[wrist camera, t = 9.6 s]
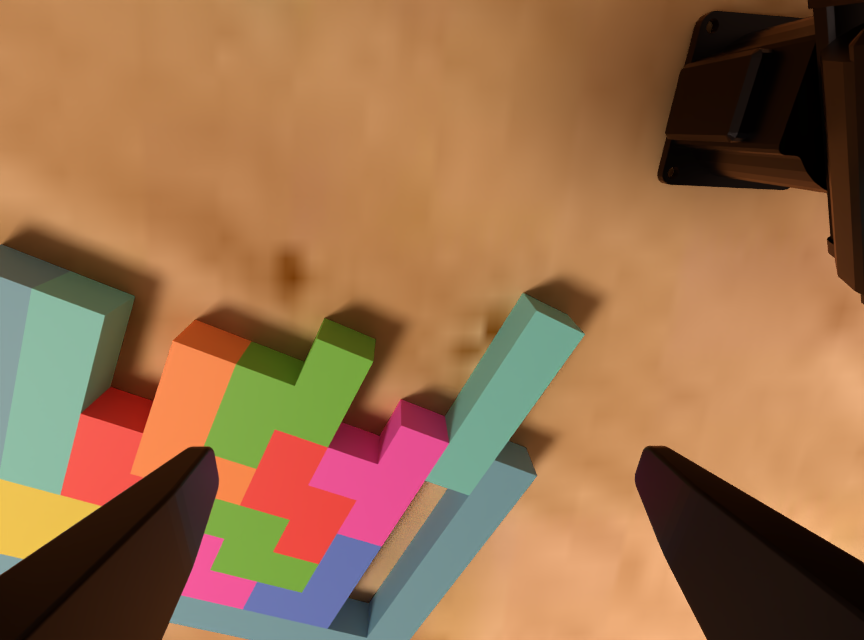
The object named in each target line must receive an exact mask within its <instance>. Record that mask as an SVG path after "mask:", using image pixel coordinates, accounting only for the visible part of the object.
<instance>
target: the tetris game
mask: <svg viewBox="0 0 864 640" xmlns="http://www.w3.org/2000/svg"><path fill="white" fill-rule="evenodd" d="M134 299H135V296H133V295H131V294H128V293H126V292H123V291H121V290H118V289H115V288H113V287H110V286H108V285H105V284H102V283H100V282H97V281H95V280H92V279H90V278H87V277H84V276H82V275H79V274H77V273H74V272H72V271H69V270H66V269H64V268H61V267H59V266H56V265H53V264H51V263H48V262H46V261H43V260H41V259H38V258H35V257H33V256H30V255H28V254H25V253H22V252H20V251H17V250H15V249H12V248H10V247H7V246H4V245H2V244H1V245H0V575H1V574H2V573H4V572H5V571H7V570H8V569H10V568H11V567H13V566H14V565H16V564H17V563H19V562H20V561H21V560H23V559H24V558H26V557H27V556H29V555H30V554H32V553H33V552H35V551H36V550H38V549H39V548H41V547H42V546H44V545H45V544H47V543H48V542H49V541H51V540H52V539H54V538H55V537H57V536H58V535H60V534H61V533H63V532H64V531H66V530H67V529H69V528H70V527H72V526H73V525H75V524H76V523H77V522H79V521H80V520H82V519H83V518H85V517H86V516H88V515H89V514H91V513H92V512H94V511H95V510H97V509H98V508H100V507H101V506H103V505H104V504H105V503H107V502H108V501H110V500H111V499H113V498H114V497H116V496H117V495H119V494H120V493H122V492H123V491H125V490H126V489H128V488H129V487H130V486H132V485H133V484H135V483H136V482H138V481H139V480H141V479H142V478H144V477H145V476H147V475H148V474H150V473H151V472H153V471H154V470H156V469H157V468H158V467H160V466H161V465H163V464H164V463H166V462H167V461H169V460H170V459H172V458H173V457H175V456H176V455H178V454H179V453H181V452H182V451H184V450H185V449H187V448H188V447H192V446H209V447H211V448H212V449H213V450H214V453H215V459H216V464H217V469H218V475H219V487H218V491H217V494H216V498H215V501H214V504H213V507H212V510H211V513H210V516H209V520H208V523H207V526H206V529H205V532H204V535H203V538H202V542H201V545H200V548H199V551H198V554H197V557H196V560H195V563H194V566H193V568H192V571H191V573H190V576H189V578H188V581H187V583H186V585H185V588H184V590H183V592H182V594H181V597H180V599H179V601H178V604H177V606H176V608H175V610H174V613H173V615H172V617H171V620H170V622H169V623H174V624H179V625H184V626H188V627H193V628H198V629H202V630H207V631H212V632H216V633H221V634H226V635H231V636H235V637H240V638H245V639H249V640H410V639H411V637H412V636H413V635H414V633H415V632H416V631H417V630H418V628H419V627H420V626H421V624H422V623H423V622H424V621H425V619H426V618H427V617H428V615H429V614H430V613H431V612H432V610H433V609H434V608H435V607H436V605H437V604H438V603H439V601H440V600H441V599H442V598H443V596H444V595H445V594H446V592H447V591H448V590H449V589H450V587H451V586H452V585H453V583H454V582H455V581H456V580H457V578H458V577H459V576H460V574H461V573H462V572H463V571H464V569H465V568H466V567H467V565H468V564H469V563H470V562H471V560H472V559H473V558H474V556H475V555H476V554H477V553H478V551H479V550H480V549H481V547H482V546H483V545H484V544H485V542H486V541H487V540H488V539H489V537H490V536H491V535H492V533H493V532H494V531H495V530H496V528H497V527H498V526H499V524H500V523H501V522H502V521H503V519H504V518H505V517H506V515H507V514H508V513H509V512H510V510H511V509H512V508H513V506H514V505H515V504H516V503H517V501H518V500H519V499H520V497H521V496H522V495H523V494H524V492H525V491H526V490H527V488H528V487H529V486H530V485H531V483H532V482H533V481H534V479H535V478H536V477H537V474H536V472H535V469H534V467H533V464H532V462H531V459H530V457H529V454H528V452H527V449H526V447H523V446H520V445H518V444H515V443H513V442H510V441H509V439H510V438H511V437H512V435H513V434H514V432H515V431H516V430H517V428H518V427H519V425H520V424H521V423H522V421H523V420H524V419H525V417H526V416H527V414H528V413H529V412H530V410H531V409H532V407H533V406H534V405H535V403H536V402H537V400H538V399H539V398H540V396H541V395H542V393H543V392H544V391H545V389H546V388H547V387H548V385H549V384H550V382H551V381H552V380H553V378H554V377H555V375H556V374H557V373H558V371H559V370H560V368H561V367H562V366H563V364H564V363H565V361H566V360H567V359H568V357H569V356H570V355H571V353H572V352H573V350H574V349H575V348H576V346H577V345H578V343H579V342H580V341H581V339H582V338H583V336H584V335H585V334H584V333H583V331H582V330H581V329H580V328H579V327H578V326H577V325H576V324H575V323H574V321H573V320H572V319H571V318H570V317H569V316H568V315H567V314H565V313H563V312H561V311H559V310H557V309H555V308H553V307H551V306H549V305H547V304H545V303H543V302H541V301H539V300H537V299H535V298H533V297H531V296H529V295H527V294H525V293H523V294H522V295H521V297H520V298H519V300H518V302H517V303H516V305H515V306H514V308H513V309H512V311H511V313H510V314H509V316H508V317H507V319H506V320H505V322H504V324H503V325H502V327H501V328H500V330H499V332H498V333H497V335H496V336H495V338H494V339H493V341H492V343H491V344H490V346H489V347H488V349H487V351H486V352H485V354H484V355H483V357H482V358H481V360H480V362H479V363H478V365H477V366H476V368H475V369H474V371H473V373H472V374H471V376H470V377H469V379H468V381H467V382H466V384H465V385H464V387H463V388H462V390H461V392H460V393H459V395H458V396H457V398H456V400H455V401H454V403H453V404H452V406H451V407H450V409H449V411H448V412H447V414H446V415H445V416H443V415H440V414H438V413H435V412H433V411H430V410H428V409H425V408H422V407H420V406H417V405H415V404H412V403H409V402H407V401H404V400H402V399H401V400H400V401H399V403H398V405H397V407H396V408H395V410H394V412H393V414H392V415H391V417H390V419H389V421H388V422H387V424H386V426H385V428H384V429H383V431H382V433H381V434H380V436H379V435H376V434H373V433H370V432H367V431H365V430H362V429H359V428H356V427H354V426H351V425H348V424H345V423H342V420H343V418H344V416H345V414H346V412H347V411H348V409H349V407H350V405H351V403H352V401H353V399H354V397H355V395H356V393H357V392H358V390H359V388H360V386H361V384H362V382H363V380H364V378H365V376H366V375H367V373H368V371H369V369H370V367H371V365H372V363H373V360H374V351H375V342H376V339H374V338H371V337H369V336H367V335H364V334H362V333H360V332H357V331H355V330H352V329H350V328H348V327H345V326H343V325H341V324H338V323H336V322H333V321H331V320H329V319H326V318H324V320H323V323H322V325H321V327H320V329H319V331H318V333H317V336H316V338H315V340H314V342H313V344H312V347H311V349H310V351H309V353H308V355H307V357H306V360H305V362H304V361H301V360H299V359H296V358H293V357H291V356H288V355H286V354H283V353H280V352H278V351H275V350H273V349H270V348H268V347H265V346H262V345H260V344H257V343H255V342H252V341H250V340H247V339H244V338H242V337H239V336H237V335H234V334H231V333H229V332H226V331H224V330H221V329H219V328H216V327H213V326H211V325H208V324H206V323H203V322H201V321H198V320H194V321H193V322H192V323H191V324H190V325H189V326H188V327H187V328H186V329H185V330H184V331H183V332H182V333H181V334H180V335H178V336H177V337H176V338H175V339H174V340H173V342H172V345H171V348H170V351H169V354H168V357H167V361H166V364H165V367H164V370H163V373H162V376H161V379H160V382H159V385H158V389H157V392H156V395H155V398H154V401H152V400H149V399H146V398H143V397H140V396H137V395H134V394H131V393H128V392H125V391H122V390H119V389H116V388H113V387H111V383H112V379H113V376H114V372H115V368H116V365H117V361H118V357H119V354H120V350H121V346H122V343H123V339H124V335H125V332H126V328H127V324H128V321H129V317H130V313H131V310H132V306H133V302H134ZM424 481H428V482H431V483H434V484H437V485H439V486H442V487H445V488H448V489H447V491H446V492H445V493H444V495H443V496H442V498H441V499H440V501H439V502H438V504H437V505H436V507H435V508H434V509H433V511H432V512H431V514H430V515H429V517H428V518H427V520H426V521H425V523H424V524H423V525H422V527H421V528H420V530H419V531H418V533H417V534H416V536H415V537H414V539H413V540H412V541H411V543H410V544H409V546H408V547H407V549H406V550H405V552H404V553H403V555H402V556H401V557H400V559H399V560H398V562H397V563H396V565H395V566H394V568H393V569H392V571H391V572H390V573H389V575H388V576H387V578H386V579H385V581H384V582H383V584H382V585H381V586H380V588H379V589H378V591H377V592H376V594H375V595H374V597H373V598H372V600H371V601H370V602H369V603H366V602H362V601H358V600H354V599H350V598H348V597H349V595H350V594H351V592H352V591H353V589H354V588H355V586H356V585H357V583H358V582H359V580H360V579H361V577H362V576H363V574H364V572H365V571H366V569H367V568H368V566H369V565H370V563H371V562H372V560H373V559H374V557H375V556H376V554H377V553H378V551H379V550H380V548H381V547H382V545H383V544H384V542H385V541H386V539H387V537H388V536H389V534H390V533H391V531H392V530H393V528H394V527H395V525H396V524H397V522H398V521H399V519H400V518H401V516H402V515H403V513H404V512H405V510H406V509H407V507H408V505H409V504H410V502H411V501H412V499H413V498H414V496H415V495H416V493H417V492H418V490H419V489H420V487H421V486H422V484H423V483H424Z"/></svg>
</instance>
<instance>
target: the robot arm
mask: <svg viewBox="0 0 864 640" xmlns="http://www.w3.org/2000/svg"><path fill="white" fill-rule="evenodd" d="M808 8H809V9H812V8H813V13H814V16H811V17H808V18H793V17H781V16H770V15H758V14H747V13H735V12H723V11H713V12H710V13H707V14H705V15H703V16H701V17H700V18H699V20H698V21H697V22H696V25H695V27H694V31H693V35H692V39H691V42H690V46H689V50H688V54H687V58H686V62H685V66H684V68H683V69H682V70H681V72H680V75H679V79H678V83H677V87H676V91H675V95H674V99H673V103H672V107H671V111H670V115H669V119H668V123H667V127H666V131H665V134H666V136H667V137H666V141H665V145H664V149H663V153H662V157H661V161H660V165H659V169H658V175H657V176H658V179H659V181H660V182H662V183H665V184H670V185H690V186H711V187H732V188H753V189H774V190H785V189H788V188H790V187H791V188H798V189H804V190H811V191H817V192H824V193H827V196H828V209H829V223H830V237H828V238H827V245H828V253H829V254H830V255H832V256H833V257H834V258H835V263H836V268H837V274H838V277H840V278H841V279H842V280H843V281H844V282H845V283H846V284H848V285H849V286H850V287H851V288H852V289H853V290H854V291H856V292H858V293H860V294H861V303H863V304H864V0H808ZM709 21H710V22H711V23H712V30H711V32H710V33H708V32H707V30H706V26H707V24H708V22H709ZM672 167H673V169H674V172H673V174H672V176H671V177H668V171H669V169H671V168H672ZM635 484H636V487H637V490H638V492H639V495H640V497H641V500H642V502H643V505H644V507H645V510H646V512H647V515H648V517H649V520H650V522H651V525H652V527H653V530H654V532H655V535H656V537H657V540H658V542H659V545H660V547H661V549H662V552H663V554H664V556H665V558H666V560H667V562H668V564H669V566H670V568H671V570H672V572H673V574H674V576H675V578H676V580H677V582H678V584H679V586H680V588H681V590H682V592H683V594H684V596H685V598H686V600H687V602H688V604H689V606H690V607H691V609H692V611H693V613H694V615H695V617H696V619H697V621H698V623H699V625H700V627H701V629H702V631H703V633H704V635H705V637H706V639H707V640H864V563H863V562H862V561H860V560H859V559H857V558H855V557H854V556H852V555H850V554H848V553H847V552H845V551H843V550H842V549H840V548H838V547H837V546H835V545H833V544H831V543H830V542H828V541H826V540H825V539H823V538H821V537H820V536H818V535H816V534H814V533H813V532H811V531H809V530H808V529H806V528H804V527H803V526H801V525H799V524H797V523H796V522H794V521H792V520H791V519H789V518H787V517H786V516H784V515H782V514H780V513H779V512H777V511H775V510H774V509H772V508H770V507H769V506H767V505H765V504H763V503H762V502H760V501H758V500H757V499H755V498H753V497H751V496H750V495H748V494H746V493H745V492H743V491H741V490H740V489H738V488H736V487H734V486H733V485H731V484H729V483H728V482H726V481H724V480H723V479H721V478H719V477H717V476H716V475H714V474H712V473H711V472H709V471H707V470H706V469H704V468H702V467H700V466H699V465H697V464H695V463H694V462H692V461H690V460H689V459H687V458H685V457H683V456H682V455H680V454H678V453H677V452H675V451H673V450H672V449H670V448H668V447H666V446H647V447H645V448H644V450H643V452H642V455H641V458H640V461H639V464H638V467H637V470H636V473H635ZM218 487H219V475H218V469H217V464H216V459H215V453H214V450H213V449H212V448H211V447H209V446H192V447H188V448H187V449H185V450H184V451H182V452H181V453H179V454H178V455H176V456H175V457H173V458H172V459H170V460H169V461H167V462H166V463H164V464H163V465H161V466H160V467H158V468H157V469H156V470H154V471H153V472H151V473H150V474H148V475H147V476H145V477H144V478H142V479H141V480H139V481H138V482H136V483H135V484H133V485H132V486H130V487H129V488H128V489H126V490H125V491H123V492H122V493H120V494H119V495H117V496H116V497H114V498H113V499H111V500H110V501H108V502H107V503H105V504H104V505H103V506H101V507H100V508H98V509H97V510H95V511H94V512H92V513H91V514H89V515H88V516H86V517H85V518H83V519H82V520H80V521H79V522H77V523H76V524H75V525H73V526H72V527H70V528H69V529H67V530H66V531H64V532H63V533H61V534H60V535H58V536H57V537H55V538H54V539H52V540H51V541H49V542H48V543H47V544H45V545H44V546H42V547H41V548H39V549H38V550H36V551H35V552H33V553H32V554H30V555H29V556H27V557H26V558H24V559H23V560H21V561H20V562H19V563H17V564H16V565H14V566H13V567H11V568H10V569H8V570H7V571H5V572H4V573H2V574H1V575H0V640H162V638H163V636H164V633H165V631H166V629H167V626H168V624H169V622H170V620H171V617H172V615H173V613H174V610H175V608H176V606H177V604H178V601H179V599H180V597H181V594H182V592H183V590H184V588H185V585H186V583H187V581H188V578H189V576H190V573H191V571H192V568H193V566H194V563H195V560H196V557H197V554H198V551H199V548H200V545H201V542H202V538H203V535H204V532H205V529H206V526H207V523H208V520H209V516H210V513H211V510H212V507H213V504H214V501H215V498H216V494H217V491H218Z"/></svg>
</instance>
